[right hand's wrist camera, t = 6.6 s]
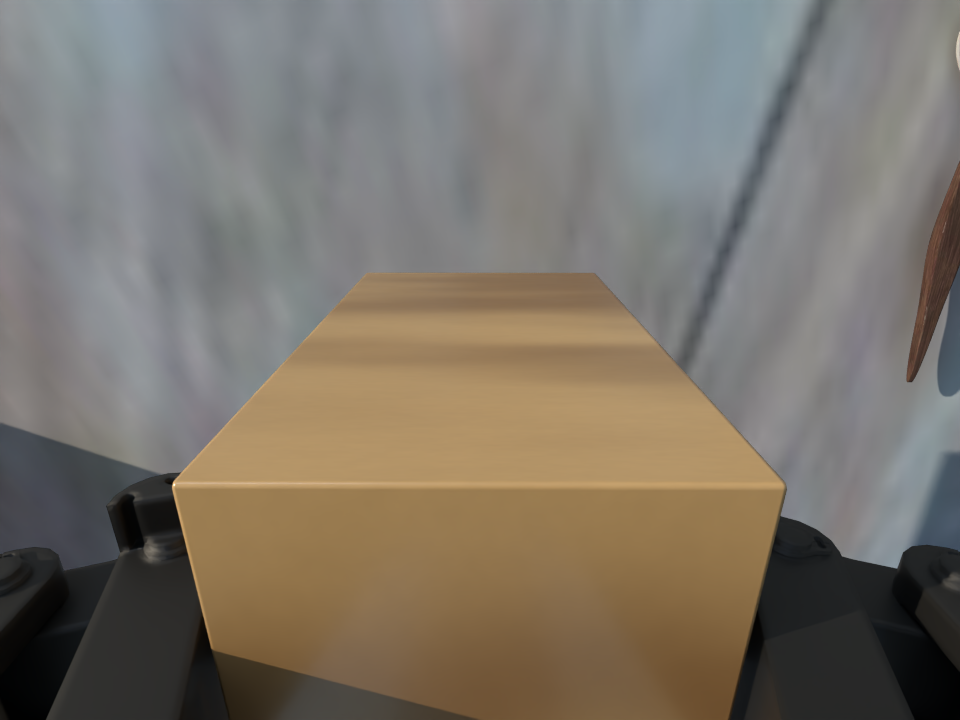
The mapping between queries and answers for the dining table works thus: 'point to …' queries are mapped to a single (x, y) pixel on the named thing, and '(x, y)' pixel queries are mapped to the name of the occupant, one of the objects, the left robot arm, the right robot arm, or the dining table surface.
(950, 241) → the fork
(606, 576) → the bar
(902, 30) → the dining table surface
